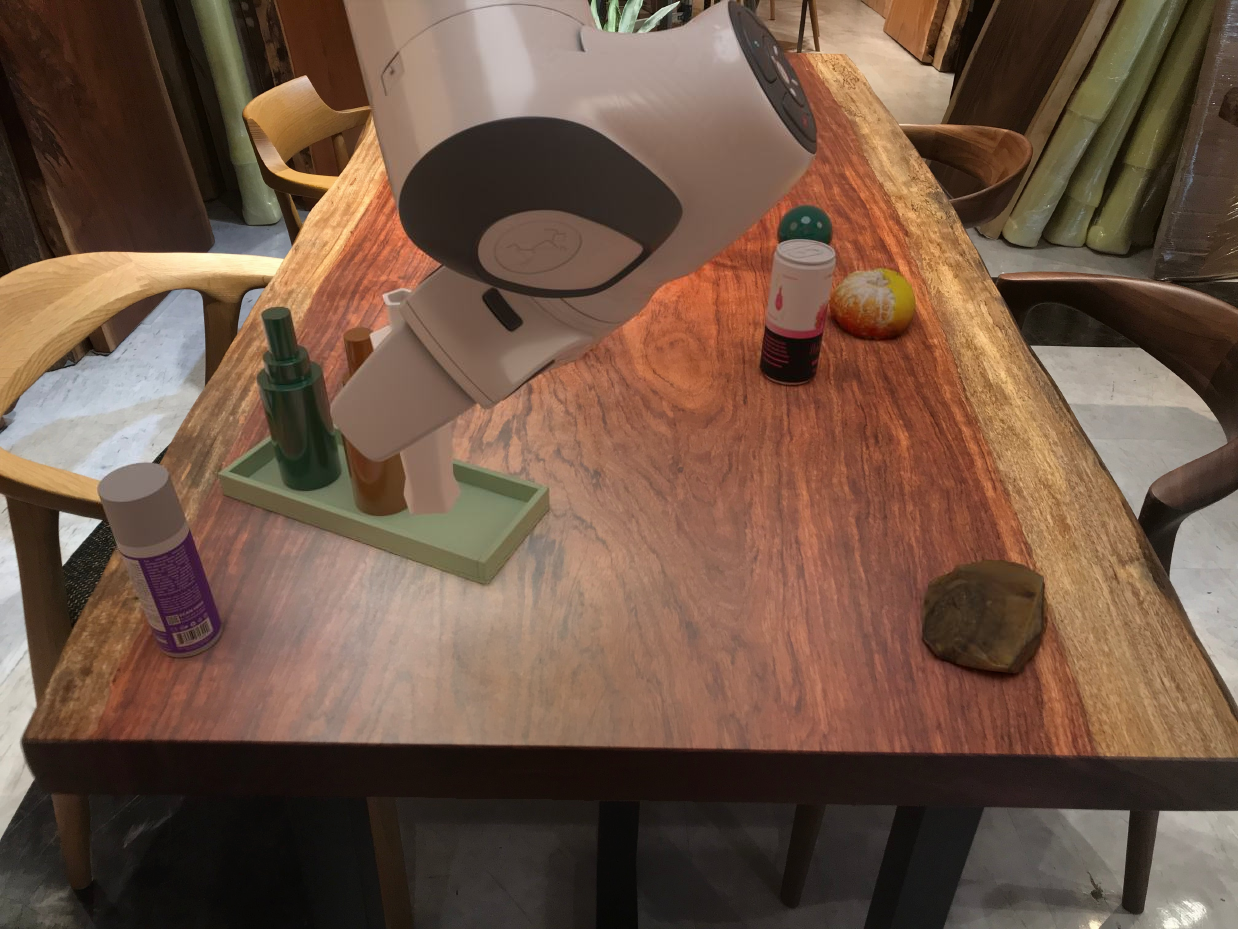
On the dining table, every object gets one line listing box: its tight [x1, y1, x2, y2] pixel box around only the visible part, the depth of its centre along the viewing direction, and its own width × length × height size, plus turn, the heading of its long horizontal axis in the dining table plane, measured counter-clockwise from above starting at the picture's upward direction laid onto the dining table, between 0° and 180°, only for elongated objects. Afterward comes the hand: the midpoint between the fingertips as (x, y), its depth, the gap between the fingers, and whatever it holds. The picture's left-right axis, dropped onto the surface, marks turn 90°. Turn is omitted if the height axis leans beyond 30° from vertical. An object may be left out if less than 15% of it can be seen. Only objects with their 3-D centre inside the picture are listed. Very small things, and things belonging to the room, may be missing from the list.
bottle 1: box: [256, 306, 342, 491], centre depth 81 cm, size 6×6×17 cm
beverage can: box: [759, 239, 837, 386], centre depth 100 cm, size 6×7×15 cm
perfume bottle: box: [370, 287, 461, 514], centre depth 56 cm, size 5×4×15 cm
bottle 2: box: [334, 326, 408, 516], centre depth 78 cm, size 6×6×17 cm
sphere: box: [776, 203, 834, 247], centre depth 129 cm, size 8×8×8 cm
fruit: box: [828, 267, 917, 341], centre depth 113 cm, size 11×10×8 cm
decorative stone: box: [920, 559, 1049, 674], centre depth 71 cm, size 10×9×4 cm
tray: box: [217, 422, 551, 586], centre depth 83 cm, size 28×11×2 cm, turn 66°
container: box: [96, 462, 223, 659], centre depth 65 cm, size 5×5×15 cm
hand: (409, 394), depth 55 cm, fingers closed on perfume bottle, 4 cm apart
